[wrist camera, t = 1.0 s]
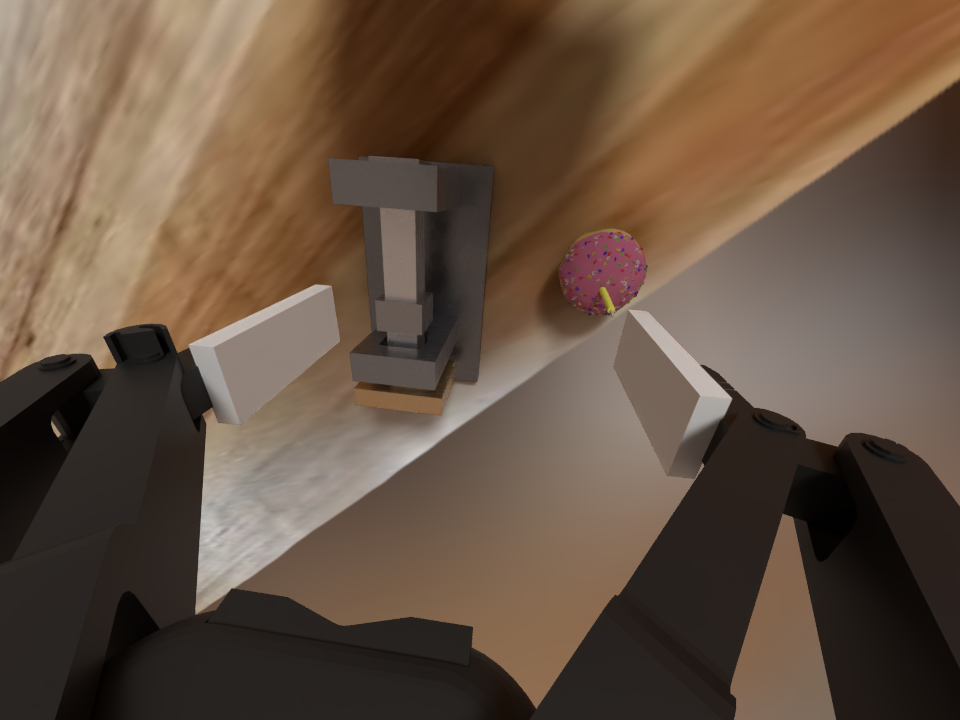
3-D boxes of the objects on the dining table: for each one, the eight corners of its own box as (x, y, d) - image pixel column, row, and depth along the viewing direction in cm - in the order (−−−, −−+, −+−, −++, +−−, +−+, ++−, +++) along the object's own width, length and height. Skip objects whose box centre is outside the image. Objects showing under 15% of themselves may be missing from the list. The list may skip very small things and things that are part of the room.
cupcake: (619, 306, 40) (655, 347, 29) (547, 297, 41) (557, 333, 30) (642, 229, 36) (693, 243, 26) (563, 220, 37) (580, 230, 26)
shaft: (385, 160, 30) (364, 155, 26) (433, 163, 30) (420, 158, 26) (396, 391, 41) (382, 412, 37) (432, 395, 40) (422, 417, 36)
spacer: (385, 351, 42) (353, 388, 34) (457, 359, 42) (441, 398, 34) (386, 365, 43) (355, 404, 35) (456, 373, 42) (441, 415, 34)
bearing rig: (364, 157, 36) (285, 138, 24) (494, 167, 35) (480, 152, 23) (378, 365, 47) (330, 423, 35) (478, 376, 46) (463, 440, 34)
